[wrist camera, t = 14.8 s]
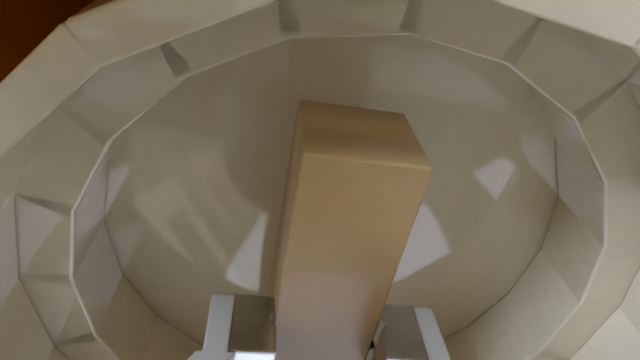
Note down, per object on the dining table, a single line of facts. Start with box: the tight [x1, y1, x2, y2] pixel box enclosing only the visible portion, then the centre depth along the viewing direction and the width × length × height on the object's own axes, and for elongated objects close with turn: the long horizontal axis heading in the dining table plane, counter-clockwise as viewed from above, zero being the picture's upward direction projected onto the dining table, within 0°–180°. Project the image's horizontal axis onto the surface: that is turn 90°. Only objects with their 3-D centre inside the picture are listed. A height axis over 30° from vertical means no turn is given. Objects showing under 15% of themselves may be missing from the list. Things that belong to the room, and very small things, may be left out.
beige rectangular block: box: [267, 100, 433, 360], centre depth 12 cm, size 10×2×2 cm, turn 170°
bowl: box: [0, 0, 640, 360], centre depth 13 cm, size 17×17×6 cm
